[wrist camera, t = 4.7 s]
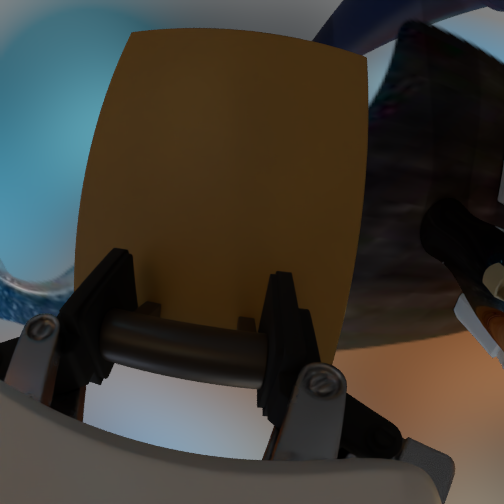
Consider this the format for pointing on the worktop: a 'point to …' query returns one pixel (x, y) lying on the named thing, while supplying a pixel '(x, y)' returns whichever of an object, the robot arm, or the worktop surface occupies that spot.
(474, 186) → the worktop surface
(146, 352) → the cover
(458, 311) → the pepper shaker
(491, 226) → the beer glass
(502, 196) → the small box
